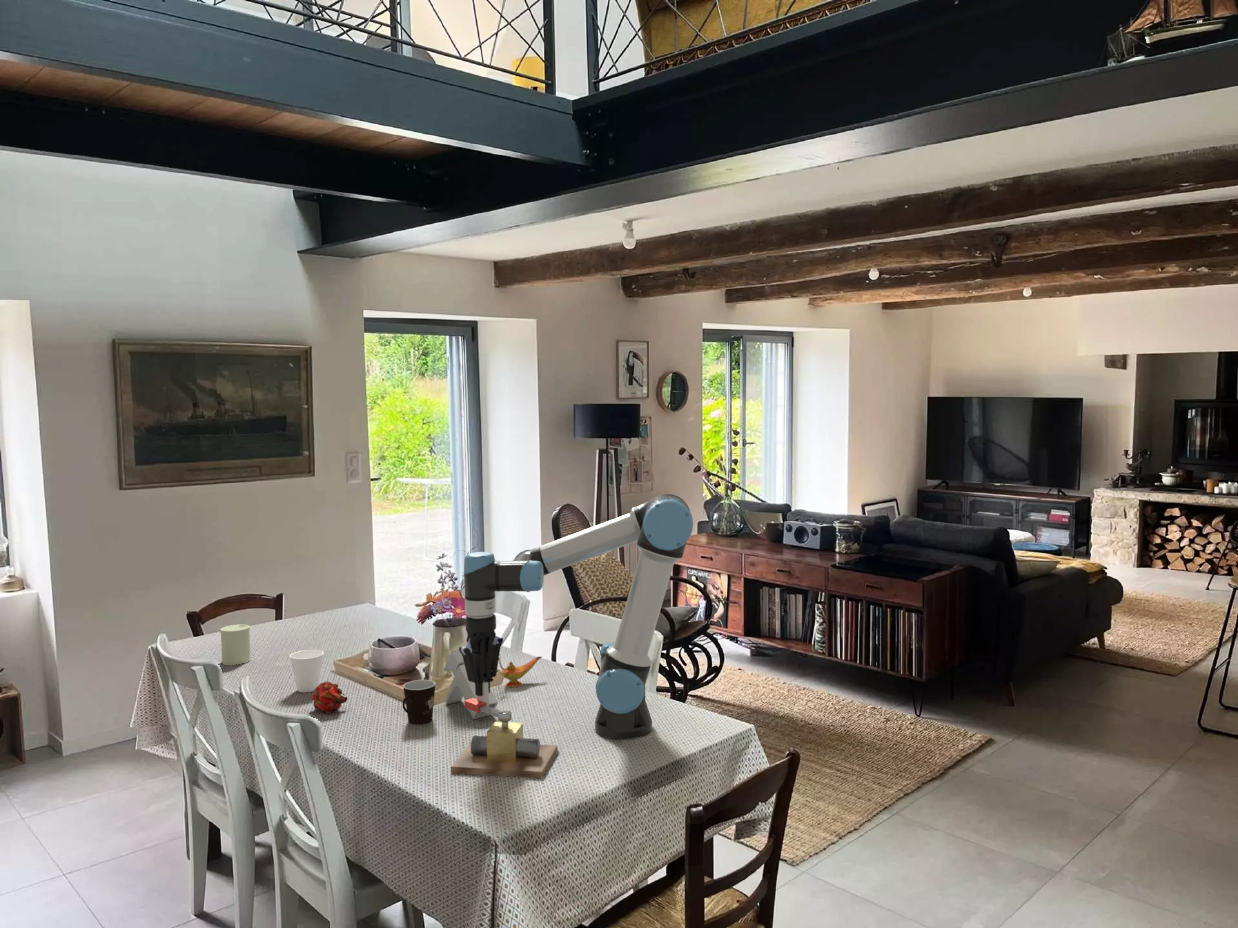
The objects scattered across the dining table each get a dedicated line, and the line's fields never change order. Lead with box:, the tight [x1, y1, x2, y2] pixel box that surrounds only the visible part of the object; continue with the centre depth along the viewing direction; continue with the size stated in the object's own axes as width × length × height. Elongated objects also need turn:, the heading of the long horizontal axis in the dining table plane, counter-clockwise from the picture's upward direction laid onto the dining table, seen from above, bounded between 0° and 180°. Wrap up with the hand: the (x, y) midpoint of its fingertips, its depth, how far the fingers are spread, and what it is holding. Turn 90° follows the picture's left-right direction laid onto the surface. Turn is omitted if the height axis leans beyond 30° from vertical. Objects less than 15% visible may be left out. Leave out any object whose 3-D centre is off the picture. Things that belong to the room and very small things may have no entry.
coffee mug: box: [402, 679, 436, 726], centre depth 248 cm, size 12×9×10 cm
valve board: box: [450, 742, 558, 779], centre depth 220 cm, size 22×16×2 cm
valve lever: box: [464, 698, 513, 722], centre depth 224 cm, size 16×3×2 cm, turn 46°
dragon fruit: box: [310, 681, 348, 714], centre depth 258 cm, size 8×8×12 cm
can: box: [219, 623, 252, 666], centre depth 307 cm, size 9×9×12 cm
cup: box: [288, 649, 325, 693], centre depth 276 cm, size 10×10×11 cm
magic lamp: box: [497, 653, 543, 688], centre depth 280 cm, size 7×18×11 cm, turn 130°
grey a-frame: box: [443, 648, 499, 720], centre depth 258 cm, size 6×16×20 cm
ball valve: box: [470, 721, 541, 762], centre depth 220 cm, size 16×7×9 cm, turn 81°
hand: (483, 707), depth 229 cm, fingers closed
